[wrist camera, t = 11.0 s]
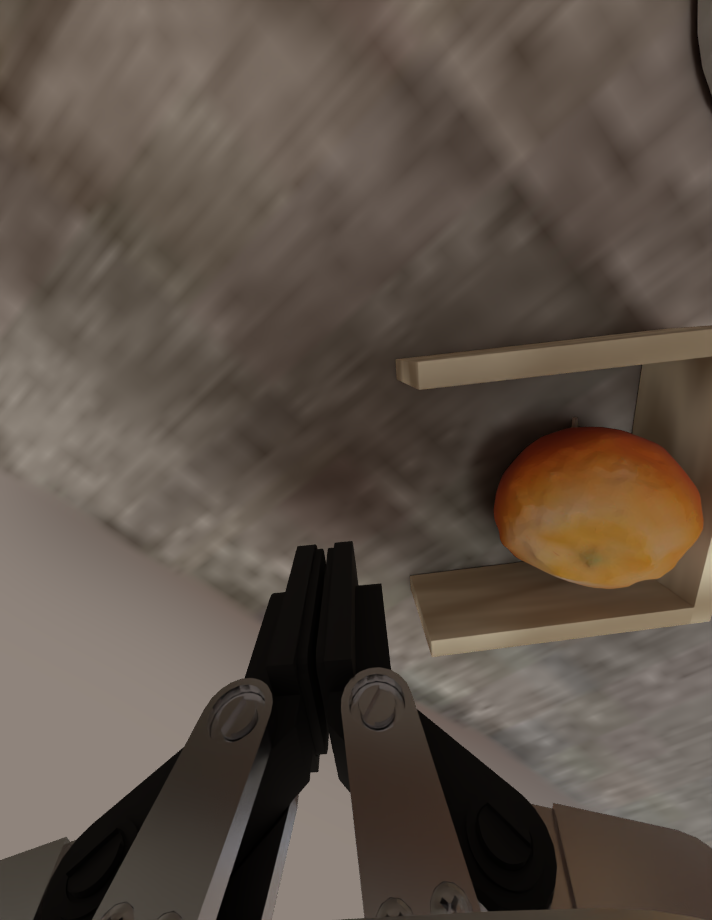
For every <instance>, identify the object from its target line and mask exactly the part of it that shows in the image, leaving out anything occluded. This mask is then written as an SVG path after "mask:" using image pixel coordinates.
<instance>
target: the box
mask: <svg viewBox="0 0 712 920" xmlns="http://www.w3.org/2000/svg"><path fill="white" fill-rule="evenodd" d="M395 361H396V376H397V380H399V381H401V382H403V383H405V384H408V385H410V386H412V387H414V388H416V389H418V390H423V389H431V388H440V387H449V386H458V385H466V384H475V383H484V382H493V381H501V380H510V379H519V378H528V377H536V376H545V375H554V374H562V373H571V372H580V371H589V370H597V369H606V368H615V367H624V366H632V365H641V364H642V370H641V377H640V384H639V391H638V397H637V404H636V411H635V417H634V424H633V431H632V434H634V435H637V436H640V437H642V438H645V439H647V440H650V441H652V442H655V443H657V444H659V445H660V446H662V447H663V448H664V449H665V450H666V451H667V452H668V453H669V454H670V455H671V456H672V457H673V458H674V459H675V460H676V462H677V463H678V464H679V465H680V466H681V467H682V469H683V470H684V471H685V472H686V473H687V475H688V476H689V478H690V479H691V480H692V482H693V483H694V484H695V486H696V487H697V489H698V491H699V494H700V498H701V506H702V513H703V519H704V524H703V530H702V532H701V534H700V536H699V538H698V539H697V540H696V542H695V543H694V544H693V546H692V547H691V548H689V549H688V550H687V551H686V553H685V554H684V555H683V557H682V558H681V559H680V560H679V561H678V562H677V564H676V566H675V567H674V568H673V569H672V570H670V571H669V572H667V573H666V574H665V575H663V576H662V577H661V578H658V579H650V580H643V581H640V582H637V583H634V584H632V585H630V586H628V587H623V588H615V589H604V588H592V587H587V586H583V585H579V584H575V583H572V582H569V581H566V580H563V579H560V578H557V577H555V576H553V575H551V574H548V573H546V572H544V571H542V570H540V569H538V568H536V567H534V566H532V565H530V564H528V563H526V562H517V563H509V564H501V565H493V566H485V567H477V568H469V569H461V570H453V571H445V572H437V573H429V574H421V575H413V576H410V583H411V591H412V594H413V597H414V601H415V604H416V607H417V610H418V614H419V617H420V620H421V623H422V626H423V630H424V633H425V636H426V639H427V643H428V646H429V649H430V652H431V655H432V657H436V656H444V655H451V654H459V653H467V652H475V651H482V650H490V649H498V648H506V647H513V646H521V645H529V644H537V643H545V642H552V641H560V640H568V639H576V638H583V637H591V636H599V635H607V634H615V633H622V632H630V631H638V630H646V629H653V628H661V627H669V626H677V625H684V624H692V623H700V622H708V621H710V618H711V615H712V326H698V327H684V328H669V329H659V330H651V331H642V332H633V333H624V334H615V335H606V336H597V337H588V338H580V339H571V340H562V341H553V342H544V343H535V344H526V345H517V346H509V347H500V348H491V349H482V350H473V351H464V352H455V353H447V354H438V355H429V356H420V357H411V358H402V359H395Z"/></svg>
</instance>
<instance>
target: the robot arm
mask: <svg viewBox="0 0 712 920" xmlns="http://www.w3.org/2000/svg"><path fill="white" fill-rule="evenodd" d="M697 34H698V41H699V48H700V55H701V62H702V68H703V71H704V74H705V77H706V80H707V83H708V86H709V89H710V92H711V95H712V0H698V33H697ZM329 734H330V739H331V744H332V749H333V753H334V758H335V763H336V767H337V772H338V777H339V780H340V781H341V782H342V783H343V785H344V786H345V787H346V788H347V789H348V791H349V792H350V793H351V802H352V811H353V820H354V829H355V838H356V847H357V856H358V864H359V873H360V882H361V891H362V900H363V909H364V918H362V919H345V920H712V848H711V847H709V846H708V845H707V844H705V843H704V842H702V841H701V840H699V839H698V838H696V837H694V836H691V835H689V834H686V833H684V832H681V831H679V830H675V829H671V828H666V827H662V826H657V825H652V824H648V823H643V822H639V821H634V820H630V819H625V818H620V817H616V816H611V815H607V814H602V813H598V812H593V811H588V810H584V809H579V808H575V807H570V806H565V805H561V804H556V803H553V806H552V808H548V807H543V806H539V805H534V804H530V803H529V802H528V801H527V799H525V797H523V795H522V794H520V793H519V792H518V791H517V790H516V789H514V788H513V787H512V786H511V785H509V784H508V783H507V782H506V781H504V780H503V779H502V778H501V777H499V776H498V775H497V774H496V773H495V772H493V771H492V770H491V769H489V767H487V766H486V765H485V764H484V763H482V762H481V761H480V760H479V759H478V758H476V757H475V756H474V755H472V754H471V753H470V752H469V751H468V750H467V749H465V748H464V747H462V746H461V745H460V744H459V743H458V742H457V741H455V740H454V739H453V738H452V737H451V736H449V735H448V734H447V733H446V732H444V731H443V730H442V729H441V728H440V727H438V726H437V725H435V723H433V722H432V721H431V720H430V719H428V718H427V717H426V716H425V715H424V714H422V713H421V712H420V711H419V710H417V708H416V705H415V702H414V699H413V696H412V693H411V691H410V689H409V686H408V684H407V682H406V681H405V680H404V679H403V678H402V677H401V676H400V675H399V674H397V673H395V672H393V671H392V670H391V666H390V657H389V648H388V639H387V630H386V621H385V612H384V603H383V594H382V586H381V584H371V585H360V586H358V579H357V571H356V563H355V555H354V547H353V542H352V541H348V542H338V543H335V544H334V548H328V552H327V561H325V555H324V550H323V549H317V546H316V545H306V546H298V547H297V550H296V554H295V557H294V561H293V565H292V569H291V573H290V576H289V580H288V584H287V588H286V592H282V593H273V594H272V595H271V597H270V600H269V603H268V606H267V609H266V612H265V615H264V619H263V622H262V625H261V628H260V631H259V634H258V638H257V641H256V644H255V647H254V650H253V653H252V657H251V660H250V663H249V666H248V669H247V672H246V676H245V679H240V680H237V681H234V682H232V683H230V684H228V685H227V686H225V687H224V688H222V689H221V690H220V691H219V692H218V693H217V694H216V695H215V696H214V697H212V699H211V700H210V702H209V703H208V705H207V706H206V707H205V709H204V711H203V713H202V714H201V716H200V718H199V720H198V722H197V724H196V726H195V727H194V729H193V731H192V733H191V735H190V737H189V739H188V741H187V742H186V744H185V746H184V747H183V748H182V749H181V750H180V751H179V752H177V753H176V754H175V755H174V756H173V757H172V758H170V759H169V760H168V761H167V762H166V763H164V764H163V765H162V766H161V767H160V768H158V769H157V770H156V771H155V772H154V773H153V774H151V775H150V776H149V777H148V778H147V779H145V780H144V781H143V782H142V783H141V784H139V785H138V786H137V787H136V788H135V789H133V790H132V791H131V792H130V793H129V794H128V795H126V796H125V797H124V798H123V799H122V800H120V801H119V802H118V803H117V804H116V805H114V807H112V808H111V809H110V810H109V811H107V812H106V813H105V814H104V815H103V816H102V817H101V818H99V819H98V820H97V821H95V823H93V824H92V825H91V826H90V827H89V828H88V829H87V830H86V831H85V832H84V833H83V834H82V835H81V836H80V837H79V838H78V839H77V840H75V841H71V842H70V841H69V840H68V838H67V837H65V838H62V839H59V840H56V841H53V842H50V843H48V844H45V845H42V846H39V847H36V848H34V849H31V850H28V851H25V852H22V853H19V854H17V855H14V856H11V857H8V858H5V859H3V860H0V920H272V916H273V912H274V907H275V903H276V898H277V894H278V890H279V885H280V881H281V877H282V872H283V868H284V864H285V859H286V855H287V850H288V846H289V842H290V838H291V833H292V829H293V824H294V820H295V816H296V811H297V806H298V805H297V804H298V797H299V795H298V794H299V793H300V792H301V791H302V789H303V788H304V787H305V786H306V785H307V783H308V782H309V781H310V772H318V769H319V756H320V754H327V750H328V739H329ZM343 920H344V919H343Z"/></svg>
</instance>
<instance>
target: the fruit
mask: <svg viewBox="0 0 712 920" xmlns="http://www.w3.org/2000/svg"><path fill="white" fill-rule="evenodd" d="M494 518H495V522H496V524H497V527H498V529H499V533H500V540H501V542H502V544H503V545H504V546H505V547H507V548H508V549H509V550H510V552H511V553H512V554H513V555H514V556H515V557H517V558H518V559H520V560H522V561H524V562H526V563H528V564H530V565H532V566H534V567H536V568H538V569H540V570H542V571H544V572H546V573H548V574H551V575H553V576H555V577H557V578H560V579H563V580H566V581H569V582H572V583H575V584H579V585H583V586H587V587H592V588H604V589H615V588H623V587H628V586H630V585H632V584H634V583H637V582H640V581H643V580H650V579H658V578H661V577H662V576H663V575H665V574H666V573H667V572H669V571H670V570H672V569H673V568H674V567H675V566H676V564H677V562H678V561H679V560H680V559H681V558H682V557H683V555H684V554H685V553H686V551H687V550H688V549H689V548H691V547H692V546H693V544H694V543H695V542H696V540H697V539H698V538H699V536H700V534H701V532H702V530H703V524H704V519H703V513H702V506H701V498H700V494H699V491H698V489H697V487H696V486H695V484H694V483H693V482H692V480H691V479H690V478H689V476H688V475H687V473H686V472H685V471H684V470H683V469H682V467H681V466H680V465H679V464H678V463H677V462H676V460H675V459H674V458H673V457H672V456H671V455H670V454H669V453H668V452H667V451H666V450H665V449H664V448H663V447H662V446H660V445H659V444H657V443H655V442H652V441H650V440H647V439H645V438H642V437H640V436H637V435H634V434H631V433H628V432H625V431H622V430H617V429H611V428H604V427H578V417H577V418H575V417H573V418H572V426H571V428H567V429H563V430H560V431H557V432H554V433H551V434H548V435H545V436H543V437H540V438H539V439H537V440H536V441H535V442H533V443H532V444H530V445H529V446H527V447H526V448H525V449H524V450H523V451H522V452H521V453H520V454H519V455H518V456H517V458H516V459H515V460H514V461H513V462H512V463H511V465H510V466H509V467H508V468H507V469H506V470H505V472H504V473H503V475H502V477H501V480H500V483H499V486H498V488H497V492H496V497H495V504H494Z"/></svg>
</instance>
